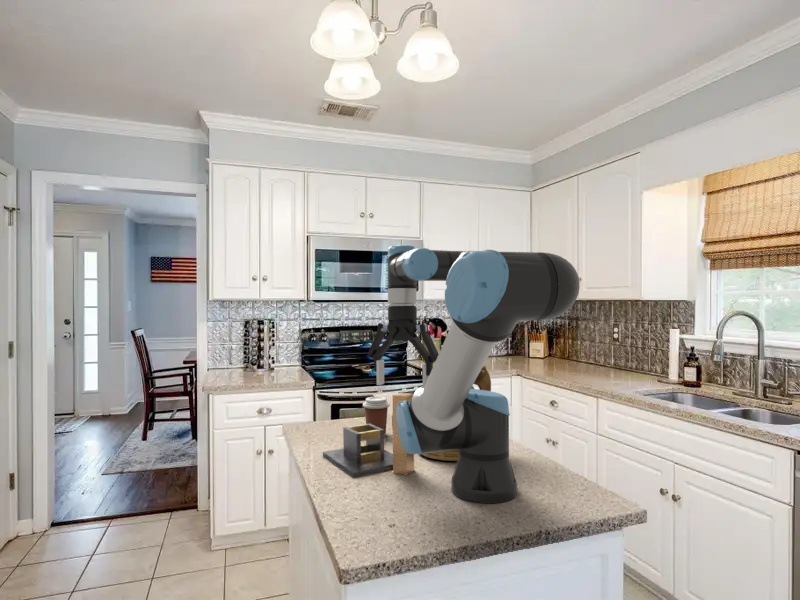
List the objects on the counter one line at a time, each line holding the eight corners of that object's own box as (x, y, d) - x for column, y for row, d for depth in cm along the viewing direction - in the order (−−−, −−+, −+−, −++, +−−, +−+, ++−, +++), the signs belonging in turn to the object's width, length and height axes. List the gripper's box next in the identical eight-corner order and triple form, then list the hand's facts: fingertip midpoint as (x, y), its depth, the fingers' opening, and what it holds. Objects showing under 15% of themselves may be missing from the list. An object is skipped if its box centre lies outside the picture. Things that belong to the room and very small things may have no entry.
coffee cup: (357, 433, 162) (357, 398, 162) (379, 429, 168) (379, 394, 168) (372, 439, 155) (372, 402, 155) (395, 435, 160) (395, 398, 160)
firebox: (407, 465, 130) (406, 432, 130) (353, 477, 121) (353, 441, 121) (372, 447, 147) (371, 417, 147) (323, 456, 138) (322, 424, 138)
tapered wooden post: (413, 470, 126) (413, 393, 126) (406, 475, 123) (405, 396, 123) (400, 467, 128) (399, 392, 128) (392, 472, 125) (392, 395, 125)
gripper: (452, 304, 123) (452, 387, 123) (369, 305, 135) (369, 380, 135) (440, 304, 117) (440, 392, 116) (354, 305, 129) (354, 384, 128)
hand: (402, 386), depth 126 cm, fingers open, 13 cm apart
